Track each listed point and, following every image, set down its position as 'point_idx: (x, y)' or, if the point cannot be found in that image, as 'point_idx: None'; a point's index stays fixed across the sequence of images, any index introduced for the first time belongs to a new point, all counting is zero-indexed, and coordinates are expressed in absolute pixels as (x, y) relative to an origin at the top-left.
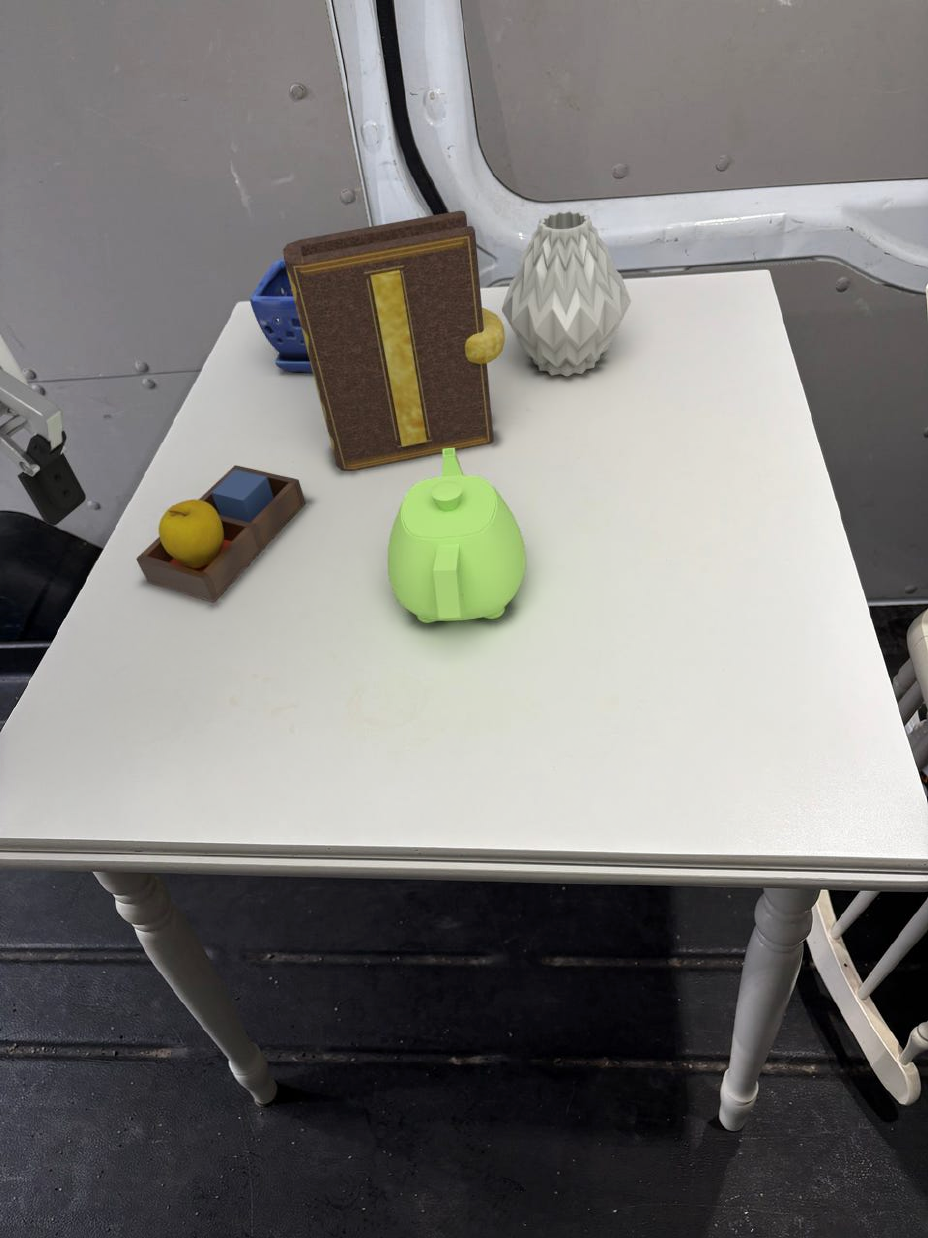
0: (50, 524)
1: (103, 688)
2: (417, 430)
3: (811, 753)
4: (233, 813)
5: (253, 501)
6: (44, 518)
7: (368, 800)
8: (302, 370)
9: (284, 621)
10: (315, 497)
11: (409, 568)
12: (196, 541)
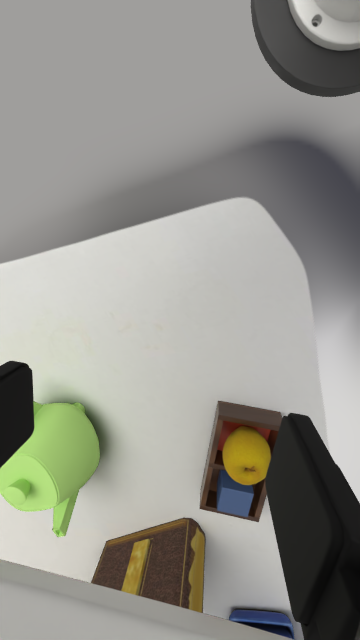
0: (13, 361)
1: (257, 318)
2: (135, 552)
3: None
4: (113, 250)
5: (220, 487)
6: (8, 367)
7: (45, 279)
8: (269, 613)
9: (161, 392)
10: (196, 494)
11: (45, 431)
12: (231, 445)
